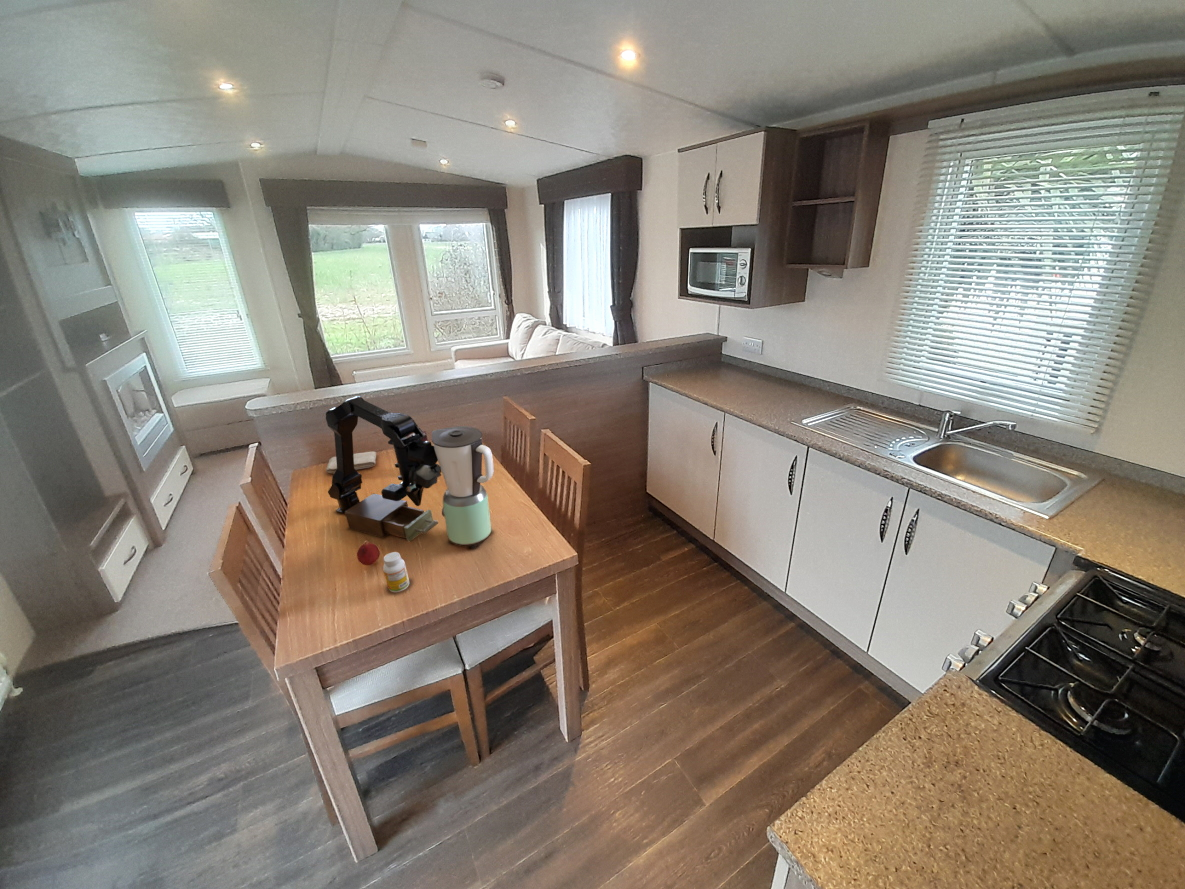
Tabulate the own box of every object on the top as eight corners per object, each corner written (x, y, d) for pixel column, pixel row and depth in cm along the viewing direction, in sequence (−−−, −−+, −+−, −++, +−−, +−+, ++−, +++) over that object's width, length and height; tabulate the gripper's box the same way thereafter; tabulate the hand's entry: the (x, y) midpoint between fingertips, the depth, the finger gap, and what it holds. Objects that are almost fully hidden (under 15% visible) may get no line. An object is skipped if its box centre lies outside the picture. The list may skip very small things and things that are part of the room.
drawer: (444, 525, 151) (442, 512, 149) (421, 544, 142) (418, 531, 140) (401, 514, 157) (398, 502, 155) (376, 532, 148) (373, 519, 146)
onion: (374, 572, 132) (367, 549, 129) (355, 570, 133) (348, 547, 130) (386, 559, 137) (380, 536, 134) (368, 557, 138) (362, 534, 135)
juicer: (433, 542, 143) (415, 437, 128) (460, 519, 154) (446, 419, 139) (487, 558, 137) (474, 449, 121) (511, 532, 148) (502, 429, 133)
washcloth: (330, 462, 195) (328, 456, 194) (377, 455, 201) (375, 448, 199) (326, 475, 185) (324, 468, 184) (376, 467, 191) (374, 460, 189)
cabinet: (410, 517, 157) (406, 501, 154) (383, 538, 147) (379, 520, 144) (377, 509, 162) (373, 493, 159) (349, 528, 152) (344, 511, 149)
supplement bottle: (391, 579, 129) (384, 550, 125) (412, 578, 130) (405, 549, 125) (385, 593, 124) (377, 564, 120) (406, 592, 125) (399, 562, 121)
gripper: (405, 478, 125) (417, 527, 132) (451, 449, 141) (459, 494, 147) (374, 471, 130) (387, 519, 136) (421, 444, 145) (431, 488, 152)
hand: (418, 505), depth 143 cm, fingers closed
